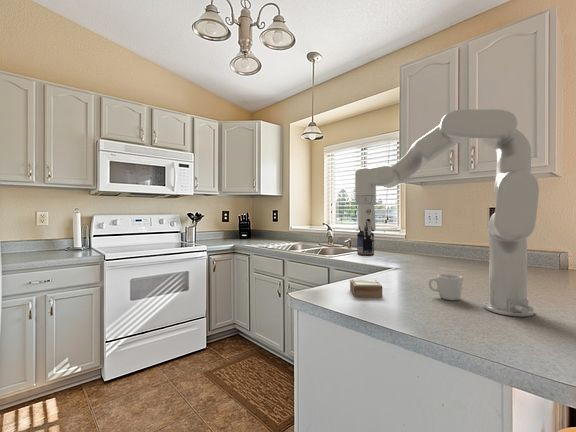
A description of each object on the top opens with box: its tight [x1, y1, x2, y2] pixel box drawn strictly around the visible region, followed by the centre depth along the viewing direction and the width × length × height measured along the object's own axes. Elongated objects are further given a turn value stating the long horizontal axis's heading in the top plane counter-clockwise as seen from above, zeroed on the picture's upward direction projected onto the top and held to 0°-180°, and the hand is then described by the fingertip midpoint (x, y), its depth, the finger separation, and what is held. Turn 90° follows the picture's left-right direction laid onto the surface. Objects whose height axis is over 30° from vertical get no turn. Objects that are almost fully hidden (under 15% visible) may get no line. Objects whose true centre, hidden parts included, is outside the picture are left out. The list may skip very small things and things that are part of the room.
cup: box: [428, 273, 464, 301], centre depth 108 cm, size 11×8×8 cm
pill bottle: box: [356, 226, 375, 257], centre depth 115 cm, size 6×6×11 cm
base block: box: [349, 279, 383, 298], centre depth 115 cm, size 10×10×4 cm
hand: (365, 248), depth 115 cm, fingers closed on pill bottle, 6 cm apart
